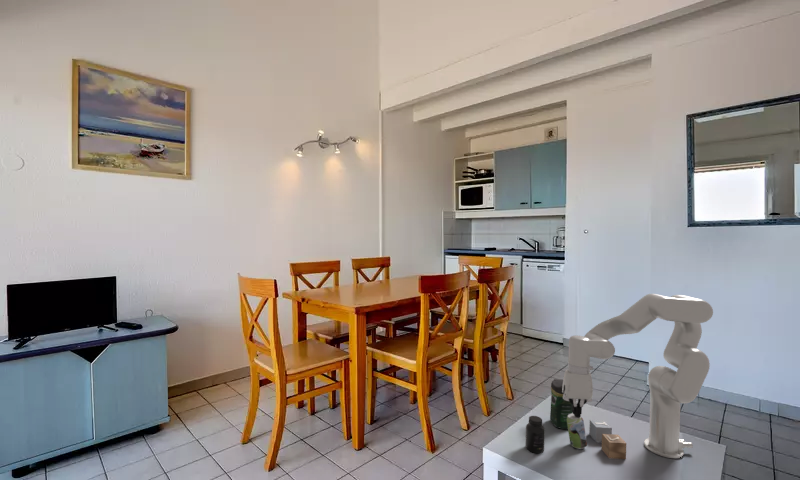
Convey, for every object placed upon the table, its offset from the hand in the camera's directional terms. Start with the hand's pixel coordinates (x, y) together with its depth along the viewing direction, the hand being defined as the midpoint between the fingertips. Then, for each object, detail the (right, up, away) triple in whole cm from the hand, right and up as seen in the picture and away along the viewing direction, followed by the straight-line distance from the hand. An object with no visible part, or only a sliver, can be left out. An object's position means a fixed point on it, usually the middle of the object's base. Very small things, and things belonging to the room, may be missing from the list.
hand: (576, 415), depth 149 cm
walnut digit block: (+12, -13, -4) cm, 18 cm away
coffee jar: (+1, -12, +17) cm, 21 cm away
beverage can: (0, -12, 0) cm, 12 cm away
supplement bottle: (-17, -12, -3) cm, 21 cm away
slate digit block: (+12, -12, +6) cm, 19 cm away
